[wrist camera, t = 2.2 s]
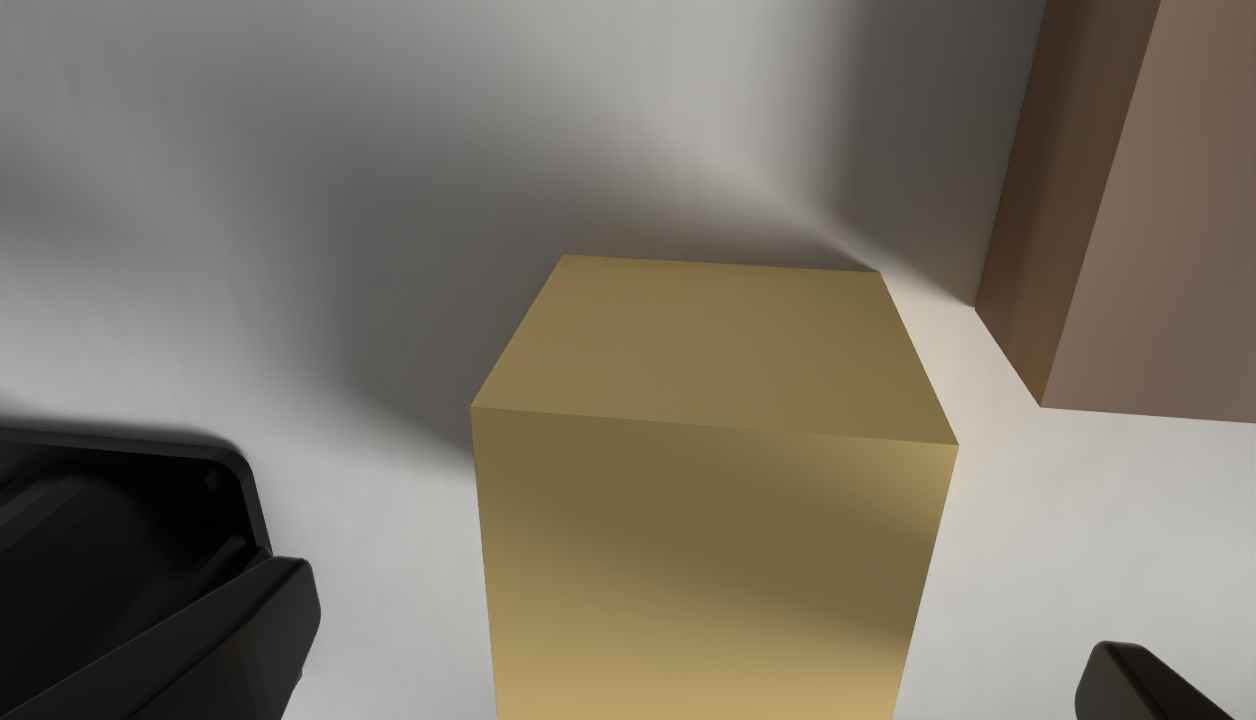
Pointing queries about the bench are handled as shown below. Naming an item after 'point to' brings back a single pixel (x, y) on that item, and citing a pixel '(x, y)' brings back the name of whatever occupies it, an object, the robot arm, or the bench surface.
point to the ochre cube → (706, 494)
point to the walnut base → (1133, 213)
